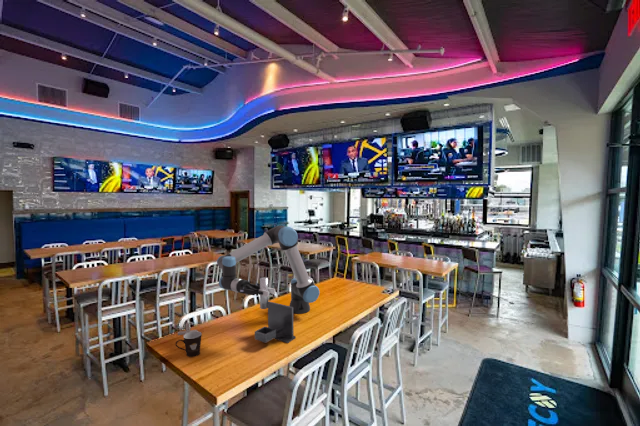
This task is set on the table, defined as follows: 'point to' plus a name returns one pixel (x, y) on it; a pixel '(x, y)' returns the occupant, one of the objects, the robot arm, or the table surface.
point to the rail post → (262, 298)
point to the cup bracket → (277, 324)
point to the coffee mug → (192, 343)
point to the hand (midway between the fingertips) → (271, 292)
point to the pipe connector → (186, 330)
